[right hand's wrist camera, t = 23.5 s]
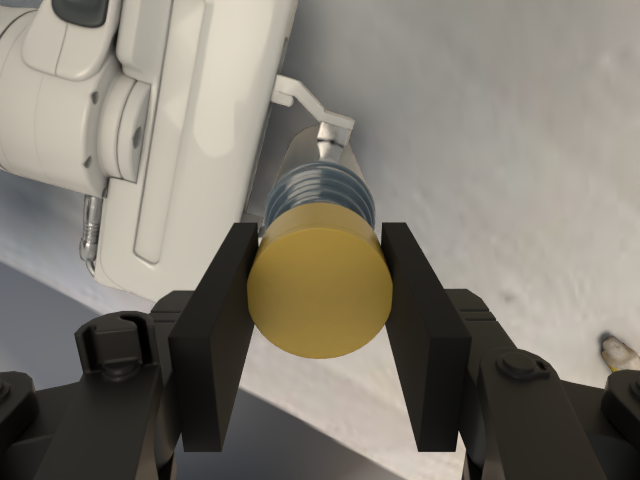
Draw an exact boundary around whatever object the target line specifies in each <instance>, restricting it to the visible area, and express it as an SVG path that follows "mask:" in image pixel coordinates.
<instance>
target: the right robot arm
mask: <svg viewBox="0 0 640 480" xmlns="http://www.w3.org/2000/svg"><path fill="white" fill-rule="evenodd" d="M258 248H259V240H258V223H234V224H233V225H232V227H231V229H230V230H229V232H228V234H227V236H226V237H225V239H224V241H223V243H222V244H221V246H220V248H219V249H218V251H217V253H216V255H215V256H214V258H213V260H212V262H211V263H210V265H209V267H208V268H207V270H206V272H205V274H204V275H203V277H202V279H201V281H200V282H199V284H198V286H197V288H196V289H195V290H173V291H172V292H170V293H168V294H167V295H165V296H164V297H162V298H161V299H159V300H158V301H157V303H156V304H155V306H154V307H153V308H152V310H151V313H149V314H147V313H142V312H138V311H120V312H115V313H109V314H106V315H103V316H100V317H97V318H95V319H92V320H91V321H89V322H87V323H86V324H84V325H82V326H81V327H80V328H79V329H78V330H77V331H76V332H75V334H74V335H75V340H76V344H77V348H78V352H79V357H80V361H81V365H82V369H83V375H82V377H81V379H80V381H79V382H76V383H72V384H68V385H63V386H59V387H54V388H49V389H44V390H39V391H35V387H34V384H33V380H32V378H31V377H29V376H28V375H27V374H26V373H21V372H16V371H11V372H0V480H176V472H177V468H176V460H175V454H174V449H175V446H176V444H177V441H178V439H179V436H180V434H181V433H182V440H183V447H184V452H221V451H222V447H223V444H224V440H225V436H226V432H227V428H228V424H229V421H230V417H231V413H232V409H233V405H234V401H235V398H236V394H237V390H238V386H239V382H240V378H241V375H242V371H243V367H244V363H245V359H246V355H247V352H248V348H249V344H250V340H251V336H252V332H253V329H254V325H255V323H254V322H253V320H252V318H251V315H250V313H249V308H248V294H247V280H248V276H249V273H250V270H251V268H252V265H253V262H254V259H255V256H256V254H257V251H258ZM381 249H382V251H383V254H384V257H385V260H386V263H387V266H388V268H389V271H390V274H391V278H392V282H393V290H392V305H391V311H390V314H389V317H388V319H387V321H386V323H385V326H386V330H387V333H388V337H389V341H390V345H391V349H392V353H393V356H394V360H395V364H396V368H397V372H398V376H399V379H400V383H401V387H402V391H403V395H404V399H405V402H406V406H407V410H408V414H409V418H410V422H411V426H412V429H413V433H414V437H415V441H416V445H417V449H418V452H456V445H457V438H458V431H459V432H460V435H461V437H462V440H463V442H464V445H465V447H466V454H465V460H464V467H463V473H462V480H640V370H630V369H624V370H619V371H614V372H613V373H612V374H611V375H610V376H608V379H607V382H606V386H605V389H601V388H596V387H591V386H586V385H581V384H576V383H571V382H568V381H564V380H560V378H559V376H558V374H557V372H556V371H555V370H554V368H553V367H552V366H551V365H550V364H549V363H548V362H547V361H545V360H544V359H542V358H541V357H539V356H537V355H535V354H533V353H530V352H528V351H525V350H521V349H517V347H516V346H515V345H514V343H513V342H512V340H511V339H510V338H509V336H508V335H507V333H506V332H505V331H504V329H503V328H502V326H501V325H500V324H499V322H498V321H496V318H495V317H494V315H493V314H492V313H491V312H489V308H488V307H487V306H486V304H485V303H484V301H483V300H482V299H481V298H480V297H478V296H477V295H475V294H474V293H472V292H471V291H469V290H467V289H444V288H443V286H442V285H441V283H440V281H439V279H438V278H437V276H436V274H435V272H434V271H433V269H432V267H431V266H430V264H429V262H428V260H427V259H426V257H425V255H424V253H423V252H422V250H421V248H420V247H419V245H418V243H417V241H416V240H415V238H414V236H413V234H412V233H411V231H410V229H409V227H408V226H407V224H406V223H382V236H381Z"/></svg>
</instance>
